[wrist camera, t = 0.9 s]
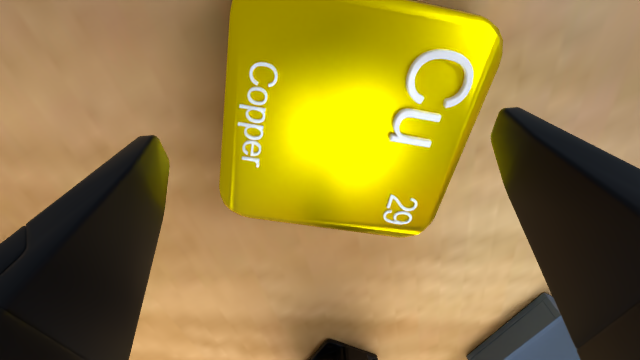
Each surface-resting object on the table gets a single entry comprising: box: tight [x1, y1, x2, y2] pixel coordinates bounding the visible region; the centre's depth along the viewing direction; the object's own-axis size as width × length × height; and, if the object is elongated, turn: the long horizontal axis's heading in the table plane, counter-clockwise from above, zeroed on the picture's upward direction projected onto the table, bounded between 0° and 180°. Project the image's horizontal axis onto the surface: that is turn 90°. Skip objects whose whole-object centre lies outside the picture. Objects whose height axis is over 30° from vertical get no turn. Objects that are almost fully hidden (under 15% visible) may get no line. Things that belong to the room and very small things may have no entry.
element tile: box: [219, 0, 503, 237], centre depth 23 cm, size 15×15×5 cm
